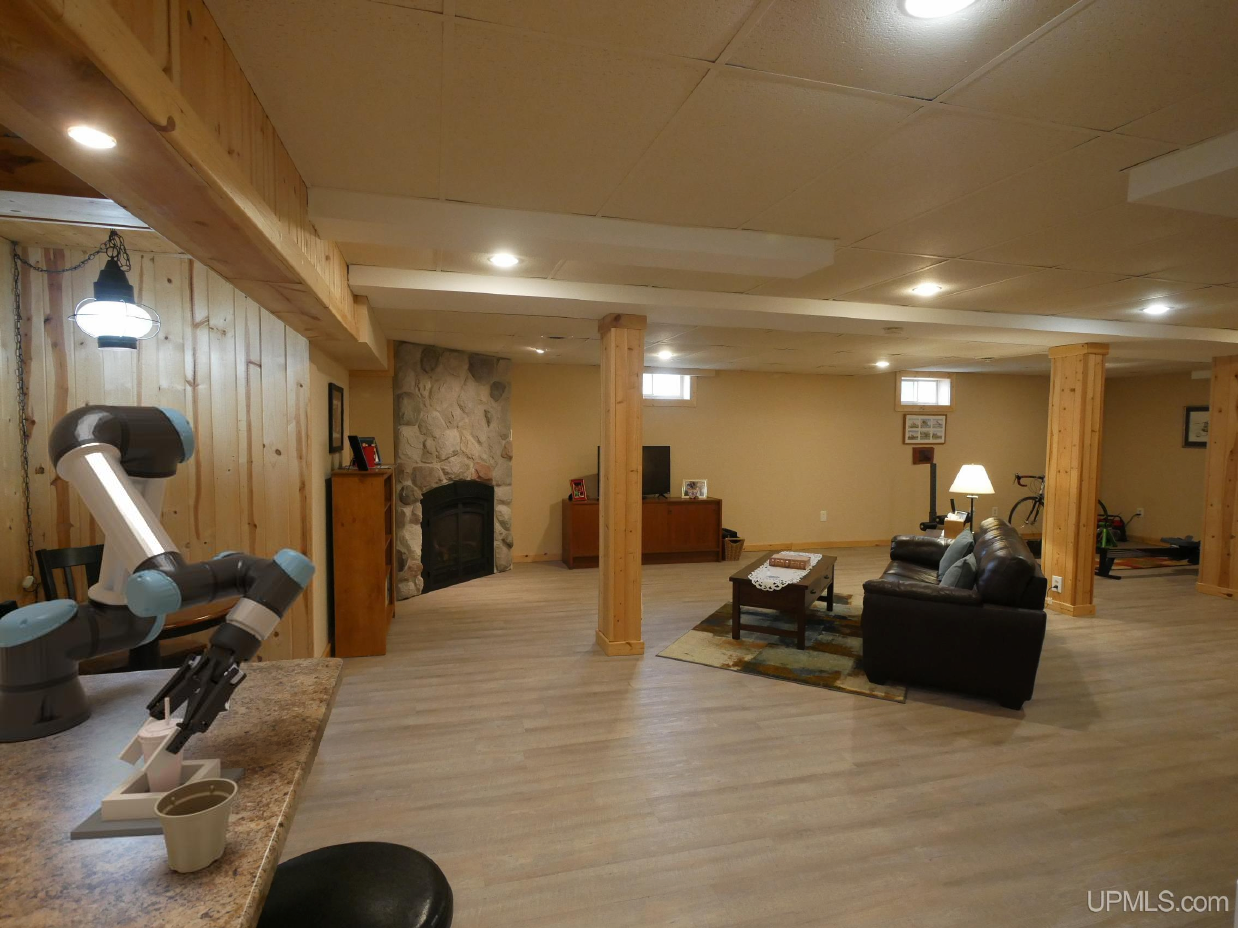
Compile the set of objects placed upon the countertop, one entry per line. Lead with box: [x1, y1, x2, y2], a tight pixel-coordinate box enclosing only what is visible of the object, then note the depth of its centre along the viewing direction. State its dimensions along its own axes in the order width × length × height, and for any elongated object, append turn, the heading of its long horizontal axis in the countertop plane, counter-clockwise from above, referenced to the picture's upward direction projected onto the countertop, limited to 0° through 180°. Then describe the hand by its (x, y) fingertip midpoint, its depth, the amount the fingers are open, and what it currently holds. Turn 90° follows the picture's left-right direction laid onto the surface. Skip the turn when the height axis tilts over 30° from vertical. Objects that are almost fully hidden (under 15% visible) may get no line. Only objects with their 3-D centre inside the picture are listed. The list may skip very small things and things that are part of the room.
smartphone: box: [183, 691, 231, 718], centre depth 134 cm, size 8×1×15 cm
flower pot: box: [154, 778, 238, 874], centre depth 86 cm, size 9×9×9 cm
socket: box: [69, 758, 245, 840], centre depth 98 cm, size 16×16×4 cm
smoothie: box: [138, 698, 185, 793], centre depth 98 cm, size 6×6×14 cm
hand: (137, 767), depth 95 cm, fingers closed on smoothie, 6 cm apart
